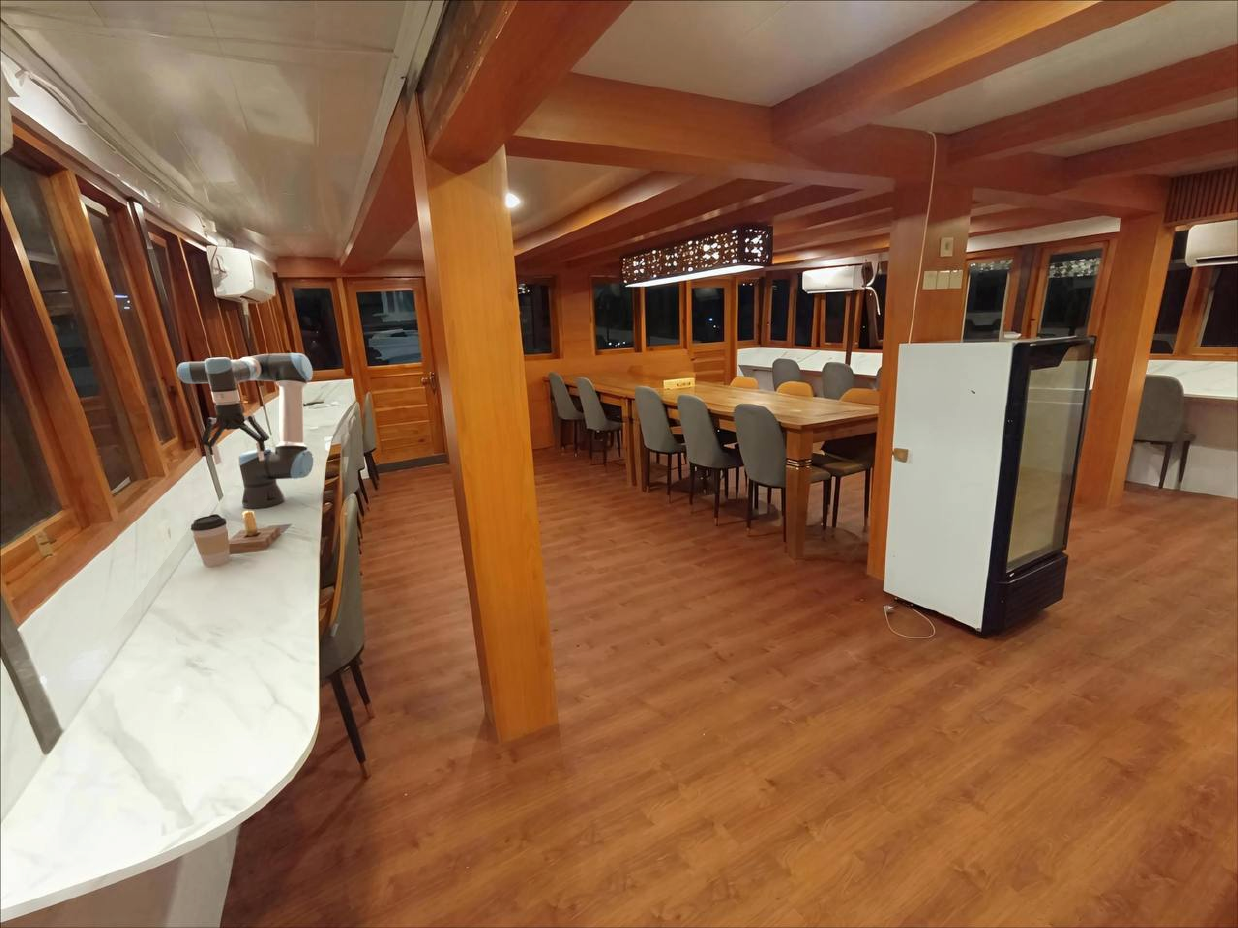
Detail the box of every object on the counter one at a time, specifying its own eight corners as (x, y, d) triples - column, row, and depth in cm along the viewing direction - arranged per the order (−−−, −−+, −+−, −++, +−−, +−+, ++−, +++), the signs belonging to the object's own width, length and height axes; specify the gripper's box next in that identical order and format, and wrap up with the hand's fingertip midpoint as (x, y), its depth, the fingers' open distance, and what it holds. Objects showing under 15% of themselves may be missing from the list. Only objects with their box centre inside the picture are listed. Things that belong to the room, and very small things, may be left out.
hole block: (243, 538, 187) (241, 529, 186) (280, 535, 190) (279, 526, 189) (225, 554, 174) (223, 544, 173) (266, 550, 177) (264, 540, 176)
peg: (251, 543, 183) (244, 510, 180) (261, 542, 184) (255, 509, 181) (247, 546, 180) (240, 513, 177) (257, 545, 181) (251, 512, 178)
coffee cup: (220, 568, 164) (210, 522, 160) (192, 568, 164) (181, 523, 161) (241, 556, 173) (232, 512, 169) (214, 556, 173) (204, 513, 169)
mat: (268, 526, 199) (268, 525, 199) (292, 524, 201) (292, 523, 201) (258, 536, 189) (258, 535, 189) (283, 533, 191) (283, 532, 191)
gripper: (179, 407, 176) (194, 467, 182) (264, 402, 183) (276, 461, 189) (190, 403, 183) (204, 462, 189) (271, 399, 190) (283, 455, 196)
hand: (240, 461), depth 189 cm, fingers open, 13 cm apart
